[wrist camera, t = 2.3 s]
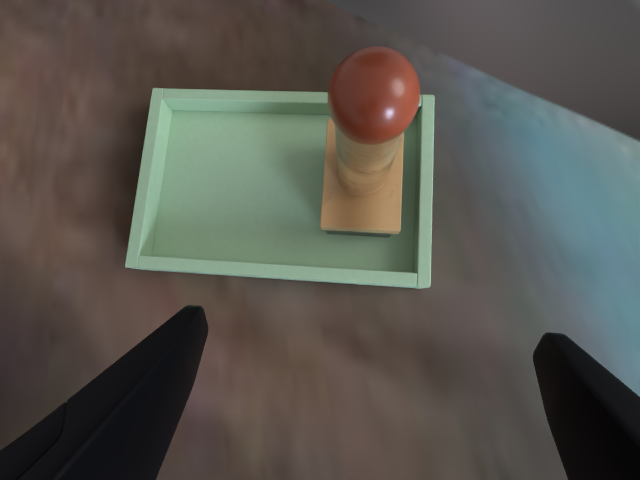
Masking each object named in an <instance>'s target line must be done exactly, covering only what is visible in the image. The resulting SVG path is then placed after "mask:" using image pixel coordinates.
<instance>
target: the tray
mask: <svg viewBox="0 0 640 480" xmlns="http://www.w3.org/2000/svg"><path fill="white" fill-rule="evenodd" d="M328 119H332V118H331V116H330V112H329V109H328V92H291V91H248V90H206V89H164V88H153V89H152V95H151V102H150V108H149V115H148V121H147V128H146V134H145V140H144V147H143V153H142V160H141V166H140V173H139V179H138V185H137V192H136V198H135V205H134V211H133V218H132V224H131V230H130V237H129V243H128V250H127V256H126V263H125V267H127V268H134V269H141V270H154V271H168V272H183V273H198V274H213V275H228V276H243V277H258V278H273V279H288V280H303V281H318V282H333V283H347V284H362V285H377V286H392V287H407V288H422V289H423V288H429V287H430V286H431V240H432V192H433V144H434V95H422V96H421V95H420V101H419V105H418V109H417V112H416V115H415V117H414V118H413V120H412V122H411V123H410V125H409V126H408V127H407V128H406V130H405V131H404V145H403V174H402V203H401V230H400V232H399V233H398V234H391V236H390V237H372V236H354V235H336V234H327V231H326V230H321V227H320V218H321V204H322V190H323V176H324V162H325V148H326V134H327V120H328Z"/></svg>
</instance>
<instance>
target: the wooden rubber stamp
mask: <svg viewBox="0 0 640 480" xmlns="http://www.w3.org/2000/svg"><path fill="white" fill-rule="evenodd" d="M419 101H420V85H419V80H418V77H417V74H416V72H415V70H414V68H413V66H412V65H411V63H410V62H409V61H408V60H407V59H406V58H405V57H404V56H403V55H402V54H400V53H399V52H397V51H395V50H393V49H391V48H387V47H383V46H370V47H365V48H362V49H359V50H357V51H355V52H353V53H352V54H350V55H349V56H347V57H346V58H345V59H344V60H343V61H342V62H341V63H340V64H339V66H338V67H337V68H336V70H335V72H334V74H333V76H332V78H331V80H330V84H329V88H328V109H329V112H330V116H331V118H332V119H328V120H327V134H326V148H325V162H324V176H323V190H322V204H321V218H320V227H321V230H326V231H327V234H336V235H354V236H372V237H390V236H391V234H398V233H399V232H400V230H401V203H402V174H403V145H404V131H405V130H406V128H407V127H408V126H409V125H410V123H411V122H412V120H413V118H414V117H415V115H416V112H417V109H418V105H419Z"/></svg>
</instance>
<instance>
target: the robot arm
mask: <svg viewBox="0 0 640 480" xmlns="http://www.w3.org/2000/svg"><path fill="white" fill-rule="evenodd" d="M207 335H208V324H207V320H206V316H205V313H204V309H203V308H202V307H201V306H194V305H188V306H185V307H184V308H183V309H181V310H180V311H179V312H178V313H176V314H175V315H174V316H173V317H171V318H170V319H169V320H168V321H166V322H165V323H164V324H163V325H161V326H160V327H159V328H158V329H156V330H155V331H154V332H152V333H151V334H150V335H149V336H147V337H146V338H145V339H144V340H142V341H141V342H140V343H139V344H137V345H136V346H135V347H134V348H132V349H131V350H130V351H129V352H127V353H126V354H125V355H124V356H122V357H121V358H120V359H119V360H117V361H116V362H115V363H114V364H112V365H111V366H110V367H108V368H107V369H106V370H105V371H103V372H102V373H101V374H100V375H98V376H97V377H96V378H95V379H93V380H92V381H91V382H90V383H88V384H87V385H86V386H85V387H83V388H82V389H81V390H80V391H78V392H77V393H76V394H75V395H73V396H72V397H71V398H70V399H68V401H67V402H65V403H63V404H62V405H61V406H59V407H58V408H57V409H56V410H54V411H53V412H52V413H50V414H49V415H48V416H47V417H45V418H44V419H43V420H41V421H40V422H39V423H38V424H36V425H35V426H34V427H32V428H31V429H30V430H28V431H27V432H26V433H24V434H23V435H22V436H20V437H19V438H17V439H16V440H15V441H13V442H12V443H11V444H9V445H8V446H6V447H5V448H4V449H2V450H1V451H0V480H156V478H157V475H158V473H159V470H160V468H161V465H162V463H163V460H164V458H165V455H166V453H167V450H168V448H169V445H170V443H171V440H172V438H173V435H174V433H175V430H176V428H177V425H178V423H179V420H180V418H181V415H182V413H183V410H184V408H185V405H186V403H187V400H188V398H189V395H190V393H191V390H192V387H193V384H194V381H195V378H196V374H197V371H198V367H199V363H200V360H201V356H202V353H203V349H204V345H205V342H206V338H207ZM533 362H534V366H535V371H536V375H537V379H538V383H539V388H540V392H541V396H542V400H543V405H544V409H545V413H546V417H547V420H548V423H549V426H550V429H551V432H552V435H553V438H554V441H555V444H556V446H557V449H558V452H559V455H560V458H561V461H562V463H563V466H564V469H565V472H566V475H567V478H568V480H640V397H639V396H638V395H637V394H636V393H634V392H633V391H632V390H631V389H630V388H628V387H627V386H626V385H625V384H624V383H622V382H621V381H620V380H619V379H618V378H616V377H615V376H614V375H613V374H612V373H610V372H609V371H608V370H607V369H606V368H604V367H603V366H602V365H601V364H600V363H598V362H597V361H596V360H595V359H594V358H592V357H591V356H590V355H589V354H588V353H586V352H585V351H584V350H583V349H582V348H580V347H579V346H578V345H577V344H576V343H574V342H573V341H572V340H571V339H570V338H569V337H567V336H566V335H564V334H561V333H545V334H544V335H543V336H542V338H541V340H540V342H539V344H538V345H537V347H536V349H535V351H534V354H533Z"/></svg>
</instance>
